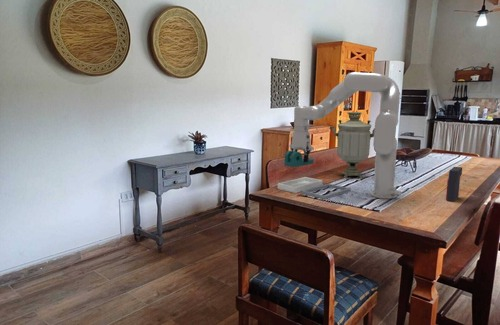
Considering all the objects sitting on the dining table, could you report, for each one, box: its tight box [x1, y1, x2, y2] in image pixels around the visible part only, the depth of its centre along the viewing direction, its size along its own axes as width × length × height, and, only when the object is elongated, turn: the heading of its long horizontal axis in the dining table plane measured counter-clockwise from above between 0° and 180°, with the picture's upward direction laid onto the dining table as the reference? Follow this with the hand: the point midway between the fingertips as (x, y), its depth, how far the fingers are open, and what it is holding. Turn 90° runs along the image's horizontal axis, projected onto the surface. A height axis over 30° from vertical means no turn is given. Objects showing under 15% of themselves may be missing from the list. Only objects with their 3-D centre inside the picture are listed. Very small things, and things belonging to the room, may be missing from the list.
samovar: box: [329, 111, 375, 179], centre depth 227 cm, size 30×26×40 cm
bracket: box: [284, 150, 314, 168], centre depth 199 cm, size 18×7×8 cm, turn 129°
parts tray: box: [277, 176, 324, 194], centre depth 202 cm, size 13×24×3 cm, turn 132°
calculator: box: [445, 166, 463, 202], centre depth 174 cm, size 11×4×15 cm, turn 141°
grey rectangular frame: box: [301, 183, 352, 200], centre depth 190 cm, size 15×23×2 cm, turn 132°
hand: (300, 160), depth 200 cm, fingers closed on bracket, 7 cm apart
